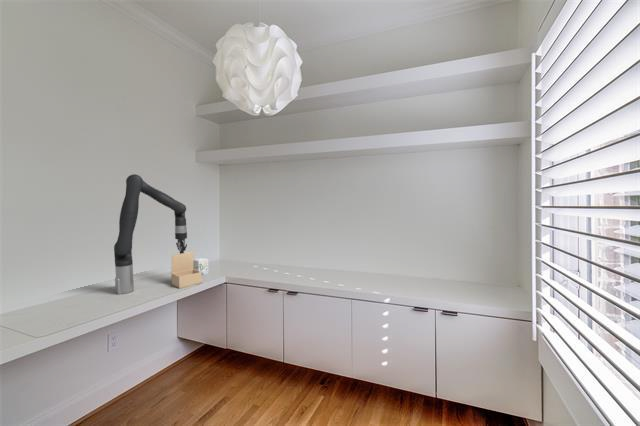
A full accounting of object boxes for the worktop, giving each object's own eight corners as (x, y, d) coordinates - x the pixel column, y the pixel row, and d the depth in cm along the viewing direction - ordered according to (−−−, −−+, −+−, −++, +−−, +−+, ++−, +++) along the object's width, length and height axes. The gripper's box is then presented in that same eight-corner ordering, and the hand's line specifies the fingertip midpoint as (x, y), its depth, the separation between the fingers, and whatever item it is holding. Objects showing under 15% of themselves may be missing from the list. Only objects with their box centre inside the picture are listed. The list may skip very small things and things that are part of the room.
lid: (172, 255, 198) (171, 254, 198) (171, 273, 200) (171, 272, 201) (193, 252, 208) (193, 251, 209) (193, 269, 211) (192, 268, 211)
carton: (179, 288, 192) (179, 276, 191) (172, 284, 200) (171, 273, 200) (202, 283, 202) (201, 272, 202) (193, 280, 211) (193, 269, 211)
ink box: (198, 275, 223) (198, 260, 222) (192, 274, 228) (192, 259, 228) (208, 273, 230) (208, 258, 229) (202, 271, 235) (202, 257, 234)
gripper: (171, 231, 206) (172, 256, 207) (179, 233, 197) (180, 258, 198) (182, 230, 211) (183, 254, 212) (190, 232, 202) (191, 257, 204)
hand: (181, 256), depth 205 cm, fingers closed
